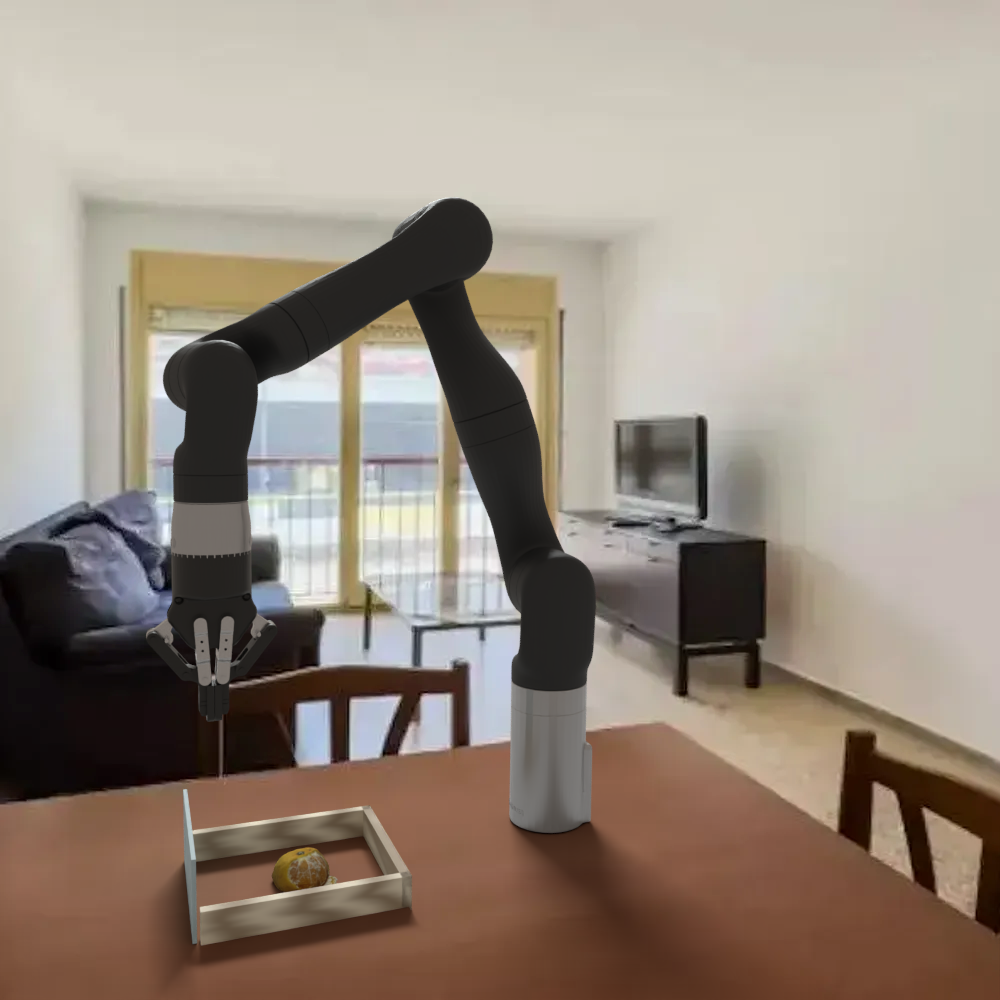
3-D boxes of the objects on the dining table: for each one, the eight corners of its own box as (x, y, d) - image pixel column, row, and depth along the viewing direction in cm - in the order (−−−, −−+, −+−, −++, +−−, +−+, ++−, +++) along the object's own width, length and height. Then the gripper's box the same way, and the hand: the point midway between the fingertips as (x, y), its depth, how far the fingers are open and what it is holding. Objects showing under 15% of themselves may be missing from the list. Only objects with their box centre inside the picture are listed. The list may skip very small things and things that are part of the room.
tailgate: (188, 860, 100) (187, 789, 99) (197, 943, 84) (195, 859, 83) (184, 860, 100) (183, 789, 99) (192, 944, 84) (191, 860, 83)
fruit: (304, 920, 90) (304, 884, 89) (250, 893, 95) (250, 859, 94) (365, 886, 96) (365, 853, 96) (312, 863, 101) (311, 831, 101)
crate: (369, 834, 108) (369, 805, 108) (411, 909, 91) (411, 875, 91) (190, 861, 101) (190, 830, 100) (200, 949, 84) (200, 912, 84)
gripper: (275, 540, 96) (276, 701, 97) (139, 544, 91) (142, 714, 93) (285, 549, 89) (286, 723, 90) (139, 554, 84) (142, 738, 86)
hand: (213, 718), depth 91 cm, fingers closed
